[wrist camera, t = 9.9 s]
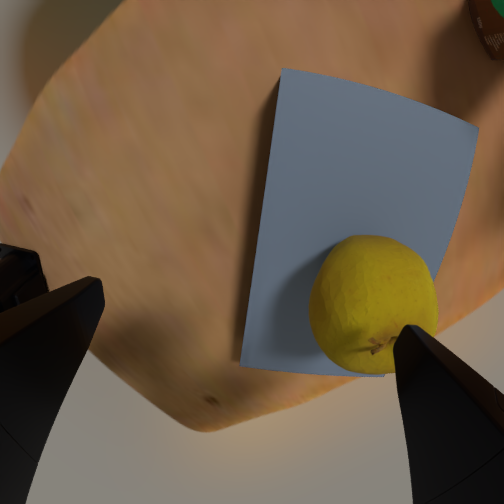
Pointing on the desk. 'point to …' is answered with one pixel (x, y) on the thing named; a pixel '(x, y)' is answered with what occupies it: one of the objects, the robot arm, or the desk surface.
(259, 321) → the book
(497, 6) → the food container
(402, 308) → the apple
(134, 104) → the desk surface
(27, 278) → the robot arm
